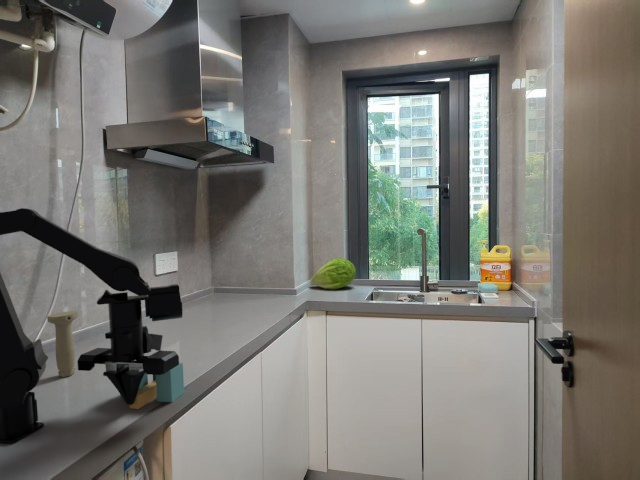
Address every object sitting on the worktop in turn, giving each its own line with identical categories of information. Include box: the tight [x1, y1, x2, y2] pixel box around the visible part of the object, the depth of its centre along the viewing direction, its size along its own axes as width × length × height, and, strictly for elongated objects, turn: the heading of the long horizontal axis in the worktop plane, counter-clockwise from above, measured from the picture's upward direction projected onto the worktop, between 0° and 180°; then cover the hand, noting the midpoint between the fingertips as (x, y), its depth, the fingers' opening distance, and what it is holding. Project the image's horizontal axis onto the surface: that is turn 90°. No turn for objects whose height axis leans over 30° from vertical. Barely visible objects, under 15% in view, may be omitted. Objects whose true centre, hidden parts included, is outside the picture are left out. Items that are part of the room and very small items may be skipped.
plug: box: [129, 375, 157, 410], centre depth 91 cm, size 14×4×4 cm, turn 166°
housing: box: [119, 362, 185, 403], centre depth 89 cm, size 4×12×6 cm, turn 77°
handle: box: [46, 310, 79, 378], centre depth 104 cm, size 5×6×15 cm
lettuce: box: [310, 257, 357, 290], centre depth 218 cm, size 15×25×16 cm
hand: (130, 404), depth 83 cm, fingers closed, pressing on plug
